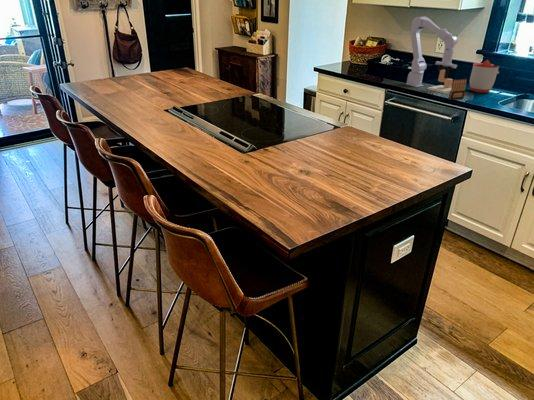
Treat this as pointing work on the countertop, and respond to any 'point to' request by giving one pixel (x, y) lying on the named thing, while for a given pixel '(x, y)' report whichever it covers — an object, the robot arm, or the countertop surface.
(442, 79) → the jaw block
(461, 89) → the ammunition clip
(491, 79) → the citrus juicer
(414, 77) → the robot arm
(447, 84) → the housing
